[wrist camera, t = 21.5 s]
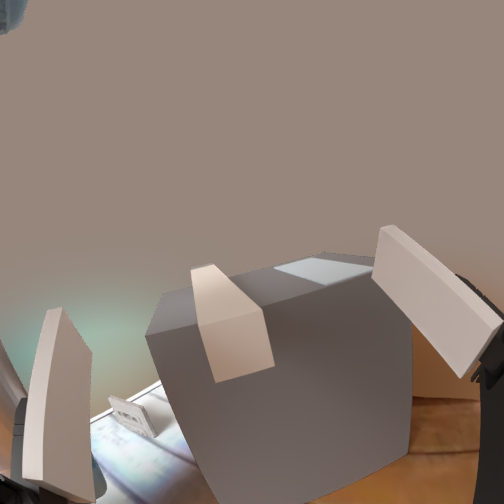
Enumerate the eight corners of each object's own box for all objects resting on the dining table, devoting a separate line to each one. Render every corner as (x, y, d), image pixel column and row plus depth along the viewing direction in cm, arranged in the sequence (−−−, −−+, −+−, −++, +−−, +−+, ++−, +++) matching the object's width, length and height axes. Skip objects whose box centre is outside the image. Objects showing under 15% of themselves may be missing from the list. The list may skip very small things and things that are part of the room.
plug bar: (275, 365, 14) (262, 309, 14) (215, 383, 13) (198, 326, 13) (216, 283, 41) (211, 262, 41) (195, 289, 41) (190, 267, 40)
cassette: (159, 435, 49) (145, 405, 48) (153, 440, 48) (138, 409, 47) (124, 421, 55) (111, 393, 54) (118, 425, 53) (105, 397, 53)
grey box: (407, 453, 31) (405, 259, 28) (231, 524, 26) (144, 334, 23) (346, 397, 50) (324, 251, 48) (213, 442, 45) (162, 292, 43)
